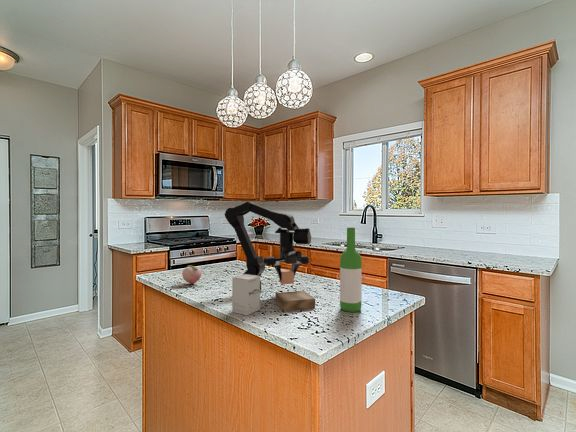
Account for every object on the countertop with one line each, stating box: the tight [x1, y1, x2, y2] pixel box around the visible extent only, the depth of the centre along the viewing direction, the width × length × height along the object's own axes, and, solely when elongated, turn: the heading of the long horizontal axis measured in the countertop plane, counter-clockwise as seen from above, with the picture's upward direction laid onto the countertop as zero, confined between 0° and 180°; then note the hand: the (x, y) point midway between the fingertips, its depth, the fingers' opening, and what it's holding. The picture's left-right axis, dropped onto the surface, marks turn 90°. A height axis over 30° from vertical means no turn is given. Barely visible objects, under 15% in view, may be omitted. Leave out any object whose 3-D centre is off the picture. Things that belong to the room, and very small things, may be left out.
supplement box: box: [231, 273, 261, 316], centre depth 115 cm, size 7×7×13 cm
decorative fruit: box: [181, 264, 203, 285], centre depth 156 cm, size 9×8×10 cm
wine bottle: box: [339, 227, 363, 313], centre depth 117 cm, size 8×8×30 cm
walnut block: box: [275, 290, 316, 312], centre depth 123 cm, size 12×12×4 cm
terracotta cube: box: [278, 269, 295, 285], centre depth 137 cm, size 5×5×5 cm
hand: (286, 280), depth 137 cm, fingers closed on terracotta cube, 5 cm apart
